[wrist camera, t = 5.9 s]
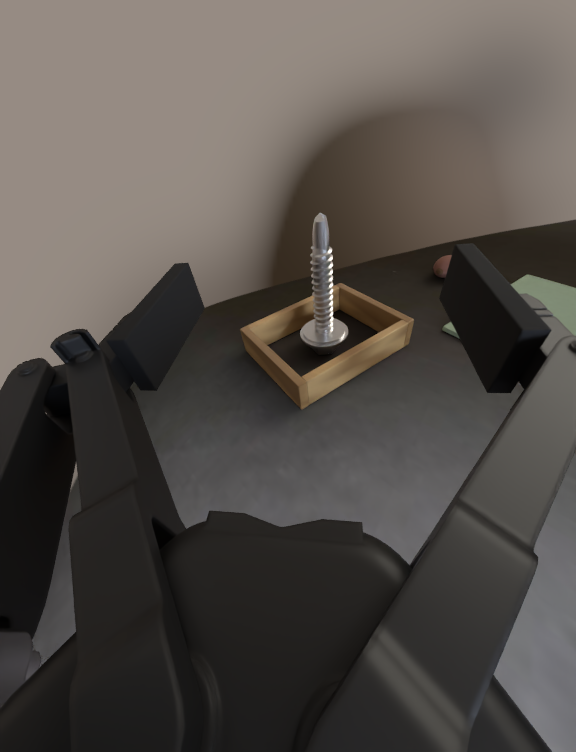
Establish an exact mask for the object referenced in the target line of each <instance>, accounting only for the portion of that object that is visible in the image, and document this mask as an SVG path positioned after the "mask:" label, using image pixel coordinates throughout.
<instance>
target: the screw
mask: <svg viewBox="0 0 576 752" xmlns="http://www.w3.org/2000/svg"><path fill="white" fill-rule="evenodd" d="M311 249H313V253H312V254H311V256H312V261H311V264H313V267H312V268H311V270H312V271H313V274H312V275H311V277H313V279H314V280H312V284H314V286H313V287H312V289H313V290H314V292H313V294H312V295H313V296H314V298H313V302H315V303H314V304H313V307H314V308H315V309H314V310H313V312H314V313H315V314H314V318H315V319H313V320H311V321H309V322H308V323H306V324H305V325H304V326H303V327H302V329H301V331H300V337H301V340H302V341H303V343H304V344H306V345H307V346H309V347H311V348H312V349H313V350H314V351H315V352H316V353H317V354H318V355H326V354H332V353H333V352H334V350H335V349H336V348H337V346H339V345H341V344H342V343H344V342H345V340H346V339H347V337H348V328H347V326H346V325H345V324H344V323H343V322H341V321H339V320H337V319H334V318H333V316H332V315H333V310H332V309H333V305H332V304H333V300H332V298H333V294H332V292H333V288H332V286H333V282H332V279H333V276H332V275H331V274H332V273H333V269H332V268H331V267H332V266H333V263H332V261H331V260H332V259H333V256H332V255H331V254H330V253H331V252H332V248H331V247H330V246H329V229H328V223H327V218H326V216H325V215H323V214H321V213H319V214H318V215H317V216H316V218H315V219H314V225H313V246H312V247H311Z"/></svg>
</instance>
